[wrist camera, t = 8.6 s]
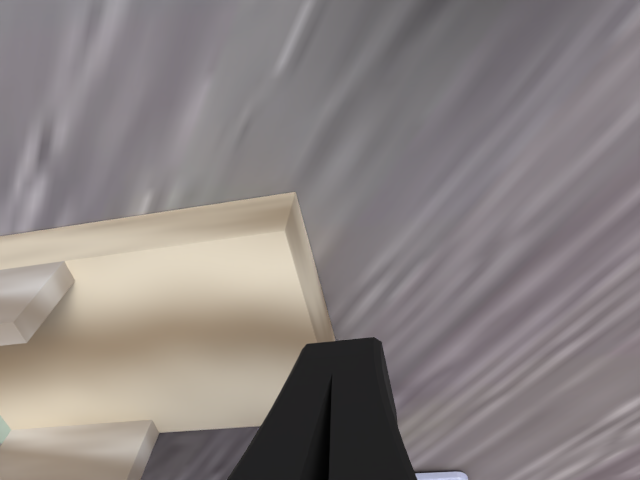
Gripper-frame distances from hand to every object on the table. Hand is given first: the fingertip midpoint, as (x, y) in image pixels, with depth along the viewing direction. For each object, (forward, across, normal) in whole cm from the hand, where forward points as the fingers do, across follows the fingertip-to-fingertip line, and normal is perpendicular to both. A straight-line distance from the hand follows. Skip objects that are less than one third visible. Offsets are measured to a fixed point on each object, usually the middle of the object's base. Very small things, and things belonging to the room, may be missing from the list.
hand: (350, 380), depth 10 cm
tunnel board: (+9, +15, +5) cm, 18 cm away
